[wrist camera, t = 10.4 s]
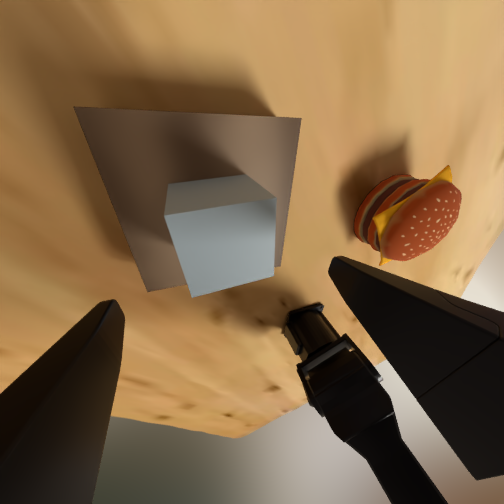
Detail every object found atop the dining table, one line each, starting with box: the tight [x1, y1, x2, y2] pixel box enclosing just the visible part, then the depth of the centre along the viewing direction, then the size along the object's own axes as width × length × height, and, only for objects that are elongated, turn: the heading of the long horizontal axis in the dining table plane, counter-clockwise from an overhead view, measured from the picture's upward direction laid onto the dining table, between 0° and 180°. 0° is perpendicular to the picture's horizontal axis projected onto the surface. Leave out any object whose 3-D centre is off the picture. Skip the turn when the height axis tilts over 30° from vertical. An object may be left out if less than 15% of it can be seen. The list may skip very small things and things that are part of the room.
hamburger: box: [354, 165, 461, 266], centre depth 22 cm, size 9×10×7 cm
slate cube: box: [164, 174, 277, 298], centre depth 12 cm, size 5×5×5 cm
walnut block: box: [74, 107, 301, 292], centre depth 15 cm, size 12×12×4 cm
